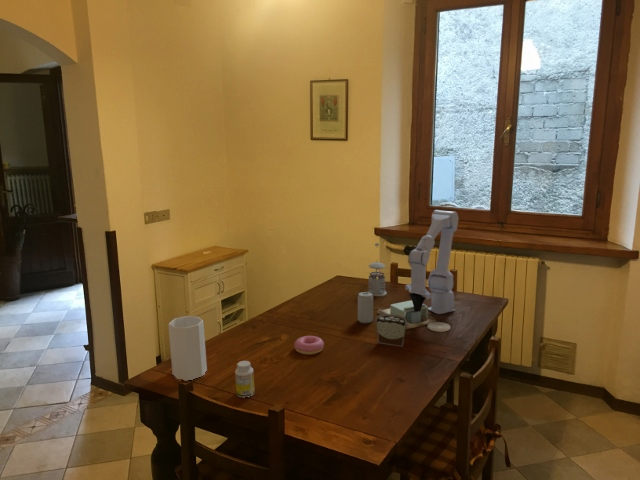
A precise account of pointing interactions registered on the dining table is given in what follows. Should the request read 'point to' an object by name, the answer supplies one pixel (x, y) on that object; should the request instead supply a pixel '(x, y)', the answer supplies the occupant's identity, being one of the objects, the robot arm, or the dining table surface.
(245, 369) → the supplement bottle
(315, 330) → the dining table surface
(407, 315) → the slate-blue block
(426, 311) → the sliding cover
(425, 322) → the beige open frame
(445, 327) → the cream saucer
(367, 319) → the beverage can
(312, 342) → the doughnut
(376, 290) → the french press
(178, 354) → the cup
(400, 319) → the food container
